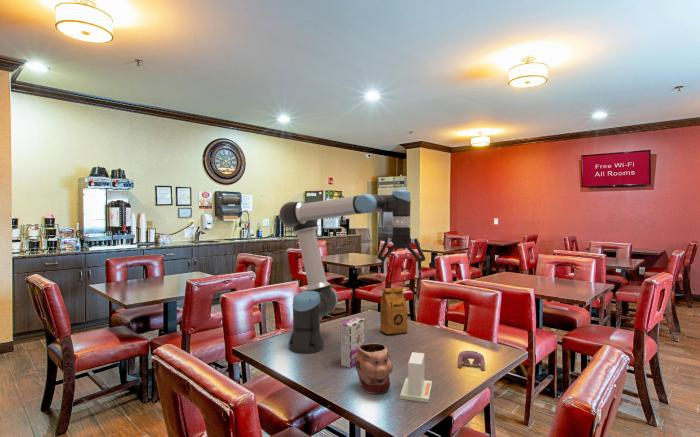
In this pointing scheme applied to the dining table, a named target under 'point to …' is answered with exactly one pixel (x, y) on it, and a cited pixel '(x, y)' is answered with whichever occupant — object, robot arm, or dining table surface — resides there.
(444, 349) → the dining table surface
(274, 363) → the dining table surface
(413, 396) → the board
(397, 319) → the coffee package
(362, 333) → the candy bar box
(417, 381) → the block
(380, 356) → the decorative planter
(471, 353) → the video game controller
